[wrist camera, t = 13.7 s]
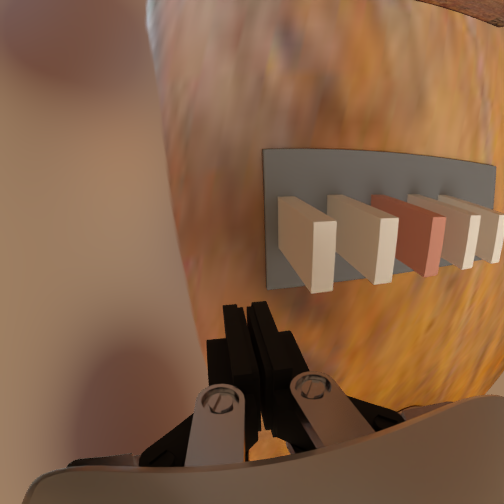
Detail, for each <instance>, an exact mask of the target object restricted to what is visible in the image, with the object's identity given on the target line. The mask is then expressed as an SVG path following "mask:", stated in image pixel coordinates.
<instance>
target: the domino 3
mask: <svg viewBox="0 0 504 504" xmlns="http://www.w3.org/2000/svg"><path fill="white" fill-rule="evenodd" d="M371 206H372V207H375V208H377V209H379V210H382V211H384V212H387V213H389V214H391V215H394V216H396V217H398V218H399V223H398V234H397V243H396V252H395V258H396V259H398V260H399V261H401V262H402V263H404V264H405V265H407V266H408V267H410V268H411V269H413V270H414V271H415V272H417V273H418V274H420V275H421V276H423V277H428V276H434V275H437V274H438V268H439V263H440V258H441V252H442V246H443V239H444V232H445V225H446V217H445V216H443V215H440V214H438V213H435V212H432V211H430V210H427V209H424V208H421V207H418V206H416V205H413V204H410V203H407V202H404V201H401V200H398V199H395V198H392V197H389V196H386V195H371Z"/></svg>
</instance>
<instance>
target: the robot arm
mask: <svg viewBox="0 0 504 504" xmlns="http://www.w3.org/2000/svg"><path fill="white" fill-rule="evenodd" d="M223 314H224V324H225V334H226V338H223V339H212V340H207V362H208V379H209V386H208V387H207V388H205V389H203V390H202V391H201V392H200V393H199V395H198V397H197V399H196V404H195V409H194V413H193V414H192V415H191V416H189V417H188V418H187V419H185V420H184V421H183V422H182V423H180V424H179V425H178V426H176V427H175V428H174V429H173V430H171V431H170V432H169V433H167V434H166V435H165V436H163V437H162V438H161V439H160V440H158V441H157V442H155V443H154V444H153V445H151V446H150V447H148V448H147V449H146V450H145V451H144V452H143V453H142V454H141V455H136V456H133V454H132V453H130V454H122V455H115V456H106V457H96V458H85V459H78V460H74V461H72V462H71V463H69V464H68V466H67V467H66V468H62V469H58V470H54V471H50V472H47V473H45V474H42V475H41V476H39V477H37V478H36V479H35V480H34V481H33V482H32V484H31V485H30V487H29V489H28V490H27V492H26V494H25V497H24V499H23V502H22V504H504V397H502V396H499V395H481V396H474V397H470V398H466V399H462V400H459V401H456V402H443V403H438V404H433V405H428V406H423V407H419V406H413V407H409V408H406V409H404V410H402V411H400V412H398V413H397V412H396V411H393V410H391V409H387V408H384V407H381V406H377V405H374V404H371V403H368V402H365V401H362V400H359V399H355V398H352V397H349V396H346V395H345V393H344V392H343V391H342V390H341V388H340V387H339V386H338V385H337V383H336V382H335V381H334V380H333V379H332V378H331V377H330V376H329V375H327V374H325V373H322V372H317V371H309V369H308V367H307V364H306V362H305V360H304V358H303V356H302V354H301V352H300V349H299V347H298V345H297V343H296V341H295V339H294V337H293V334H292V333H291V331H282V332H278V330H277V327H276V325H275V322H274V320H273V317H272V315H271V312H270V310H269V307H268V305H267V302H266V301H262V302H252V305H251V306H249V307H247V323H246V319H245V315H244V311H243V307H240V308H237V304H233V305H223ZM261 414H262V418H263V422H264V426H265V430H271V432H272V435H273V437H278V438H280V439H282V440H284V441H286V445H287V448H288V450H289V452H290V454H291V455H287V456H281V457H276V458H270V459H263V460H256V461H249V449H250V448H251V447H252V446H253V445H254V444H255V443H256V442H257V441H258V431H261Z"/></svg>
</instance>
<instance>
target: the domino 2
mask: <svg viewBox="0 0 504 504" xmlns="http://www.w3.org/2000/svg"><path fill="white" fill-rule="evenodd" d="M327 215H328V216H330V217H331V218H333V219H335V220H336V221H337V229H336V249H335V252H337V253H338V254H339V255H340V256H341V257H342V258H344V259H345V260H346V261H347V262H348V263H349V264H351V265H352V266H353V267H354V268H355V269H356V270H358V271H359V272H360V273H361V274H362V275H363V276H364V277H366V278H367V279H368V280H369V281H370V282H371V283H372V284H373V285H377V284H383V283H390V282H391V281H392V274H393V267H394V260H395V252H396V243H397V234H398V223H399V218H398V217H396V216H394V215H391V214H389V213H387V212H384V211H382V210H379V209H377V208H375V207H372V206H370V205H367V204H365V203H362V202H360V201H357V200H355V199H352V198H350V197H347V196H344V195H327Z"/></svg>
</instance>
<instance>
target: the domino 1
mask: <svg viewBox="0 0 504 504" xmlns="http://www.w3.org/2000/svg"><path fill="white" fill-rule="evenodd" d="M336 229H337V221H336V220H335V219H333V218H331V217H330V216H328V215H326V214H324V213H323V212H321V211H319V210H318V209H316V208H314V207H312V206H311V205H309V204H307V203H305V202H304V201H302V200H300V199H298V198H297V197H295V196H286V197H278V248H279V249H280V250H281V252H282V253H283V255H284V256H285V257H286V259H287V260H288V262H289V263H290V264H291V266H292V267H293V269H294V270H295V271H296V273H297V274H298V276H299V277H300V278H301V280H302V281H303V283H304V284H305V286H306V287H307V288H308V290H309V291H310V293H311V294H313V293H320V292H328V291H333V280H334V266H335V249H336Z"/></svg>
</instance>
